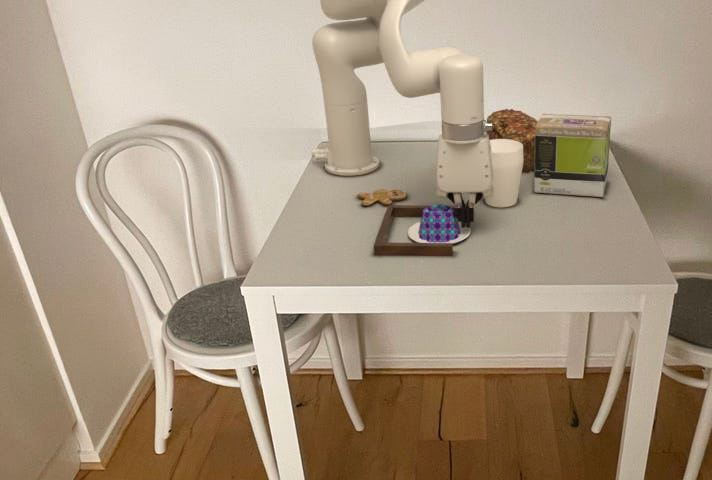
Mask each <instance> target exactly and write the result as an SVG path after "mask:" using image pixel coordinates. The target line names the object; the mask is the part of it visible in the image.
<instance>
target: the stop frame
mask: <svg viewBox="0 0 712 480" xmlns="http://www.w3.org/2000/svg"><path fill="white" fill-rule="evenodd" d="M430 205H431V204H429V205H427V204H425V205H424V204H422V205H421V204H390V205H387V207H386V210H385V213H384V216H383V219H382V221H381V224H380V227H379V230H378V233H377V235H376V238H375V241H374V244H373V250H374V251H373V252H374V256H418V257H419V256H420V257H421V256H424V257H425V256H426V257H427V256H430V257H431V256H433V257H434V256H435V257H437V256H438V257H452V256H453V254H454V250H453V248H454V247H453V243H419V242H386V241H387V239H388V235H389V233H390V230H391V226H392V224H393V220H394V218H395V217H410V218H411V217H413V218H415V217H416V218H417V217H419V218H421V217H422V212H423V210H424V209H425V208H427V207H428V206H430ZM449 206H450V207H451V208H452V209H453V210H454V211H455V214H456V218H458V211H457V207H456V206H455V205H449Z"/></svg>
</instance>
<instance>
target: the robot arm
mask: <svg viewBox="0 0 712 480" xmlns="http://www.w3.org/2000/svg"><path fill="white" fill-rule="evenodd" d="M319 1H320V2H319V3H320V7H321V10H322V13H323V15H324V16H325V17H326V18H328V19H331V20H334V21H338V22H332V23H327V24H325V25H323V26H320V27H319V28H317V29H316V31H315V32H314V33H313V35H312V42H311V43H312V51H313V54H314V58H315V61H316V66H317V68H318V73H319V77H320V83H321V90H322V96H323V104H324V113H325V124H326V130H327V138H328V139H327V140H328V147H325V148H312V149H311V156H312V158H314V159H315V161H317V160H318V161H322V160H324V161H325V162H324V168H325V171H326V172H328V173H330V174H332V175H335V176H343V177H354V176H355V177H356V176H361V175H365V174H369V173H372V172H374V171H376V170H377V169H379V167H380V159H379V158H378V157H377V156H376V155H373V152H372V140H371V129H370V117H369V104H368V97H367V96H368V95H367V88H366V86H365V84H364V82H363V81H362V80H361V79H360V78H359V76H358V75H357V74H356V73H355V70H356V69H360V68H364V67H371V66H376V65H380V64H384V67H385V69H386V72H387V75H388V78H389V81H390V82H391V84H392V87H394V90H395V91H396V92H397V93H398V94H399V95H400V96H402V97H405V98H407V99H413V98H419V97H425V96H429V95H430V96H431V95H434V94H439V95H440V97H439V98H440V118H441V133H440V134H439V135H438V138H437V145H436V146H437V147H436V187H437V188H436V193H435V195H436V196H437V197H440V198H443V199H448V200H449V201H450V202H451V203H452V204H453V205H454V206H456V207H457V211H458V217H457V220H458V222H461V227H462V228H464V227H465V226H466V227H467V228H470V229H471V223H474V222H475V206H476V205H477V204H478V203H479V202H480V201H481V200H482V199H485V198H486V197H490V196H493V195H494V189H493V186H492V178H493V172H492V155H491V146H490V140H489V136H488V134H486V131H488V130H492V123H488V122H487V119H486V120H485V95H484V94H485V93H484V90H485V89H484V87H485V86H484V65H483V62H482V60H481V58H479V57H478V56H474V55H471V54H466V53H464V52H463V51H462V50H461V49H459V48H457V47H454V46H442V47H435V48H427V49H421V50H416V51H409V52H408V50H407V48H406V45H405V43H404V40H403V36H402V29H401V28H402V27H401V24H402V19H403V16H404V15H406V14H407V13H408V12H411V11H412V10H413V9H414V8H416V7H418V6H419V5H421V4H422V3H423V2H424V1H425V0H319ZM463 193H469V194H468V195H469V196H468V199H467V201H466V203H465V200H464V199H463Z"/></svg>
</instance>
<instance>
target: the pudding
mask: <svg viewBox="0 0 712 480" xmlns="http://www.w3.org/2000/svg"><path fill="white" fill-rule="evenodd" d="M429 205H430V206H428V207H427V208H425V209H424V210H423V212H422V217H420V221H419V222H415V223H414V224H413V225H411V226H410V227H409V228H408V230H407V235H408V237H409V238H410V239H411V240H413V241H415V243H452V244H456V243H459V242H461V241H463V240H465V239H467V238H468V237H469V236H470V234H471V227H470V228H467V227H466V226H465V227H464V228H462V227H461V222H458V217H456V214H455V211H454V210H453V209H452V208H451V207H450V206H451V205H449V204H448V205H447V204H442V203H438V204H437V203H436V204H429Z"/></svg>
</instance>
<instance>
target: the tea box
mask: <svg viewBox="0 0 712 480" xmlns="http://www.w3.org/2000/svg"><path fill="white" fill-rule="evenodd" d="M537 121H538V123H537V125H536V126H535V161H534V169H533V192H534V193H537V194H538V193H539V194H555V195H568V196H579V197H580V196H581V197H582V196H583V197H595V198H596V197H597V198H604V196H605V190H606V186H607V182H608V174H609V173H608V171H609V161H610V160H609V159H610V146H611V145H610V144H611V130H612V129H611V128H612V127H611V126H612V116H607V115H585V114H584V115H581V114H557V113H542V114H541V116H540V118H539V119H538V120H537Z"/></svg>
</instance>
